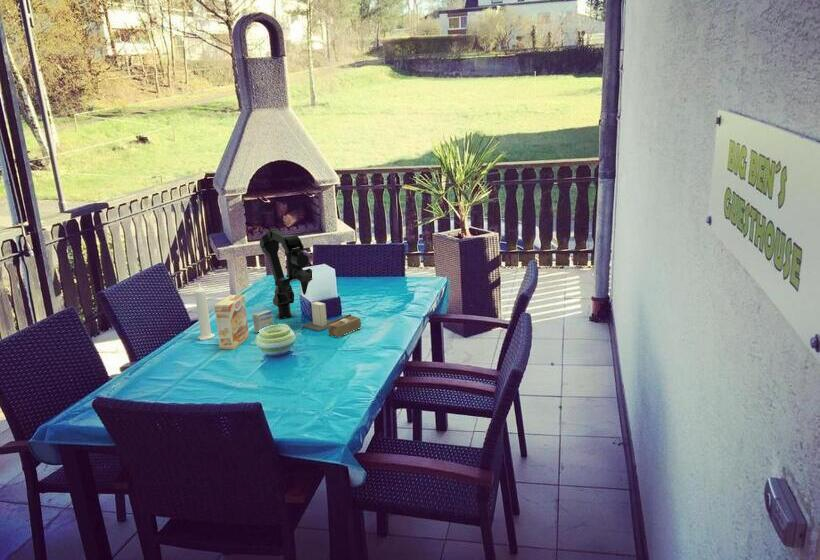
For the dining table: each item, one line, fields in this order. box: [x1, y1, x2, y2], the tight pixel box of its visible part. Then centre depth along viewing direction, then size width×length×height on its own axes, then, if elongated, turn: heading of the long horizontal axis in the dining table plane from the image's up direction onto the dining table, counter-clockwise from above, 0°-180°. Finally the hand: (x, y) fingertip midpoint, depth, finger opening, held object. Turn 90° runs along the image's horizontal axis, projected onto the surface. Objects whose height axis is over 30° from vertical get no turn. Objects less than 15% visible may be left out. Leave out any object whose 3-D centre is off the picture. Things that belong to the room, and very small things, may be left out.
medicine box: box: [252, 309, 275, 334], centre depth 300 cm, size 8×4×9 cm, turn 143°
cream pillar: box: [310, 301, 328, 326], centre depth 303 cm, size 6×3×10 cm, turn 50°
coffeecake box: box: [214, 294, 250, 350], centre depth 285 cm, size 15×7×20 cm, turn 168°
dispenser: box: [327, 313, 362, 338], centre depth 294 cm, size 6×14×6 cm, turn 140°
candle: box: [194, 282, 215, 341], centre depth 293 cm, size 7×7×25 cm
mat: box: [301, 319, 332, 332], centre depth 304 cm, size 12×12×1 cm
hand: (296, 296), depth 304 cm, fingers open, 9 cm apart
